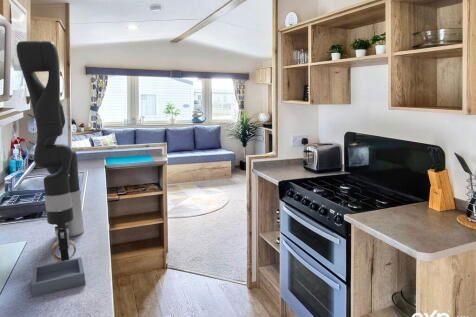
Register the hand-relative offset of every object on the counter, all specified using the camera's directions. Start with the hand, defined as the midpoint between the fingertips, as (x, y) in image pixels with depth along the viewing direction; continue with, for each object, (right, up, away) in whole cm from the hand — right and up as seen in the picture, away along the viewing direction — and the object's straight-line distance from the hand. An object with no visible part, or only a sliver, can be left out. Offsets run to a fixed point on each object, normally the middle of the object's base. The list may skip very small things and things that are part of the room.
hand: (64, 256), depth 115 cm
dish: (+5, -4, -13) cm, 14 cm away
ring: (0, -2, 0) cm, 2 cm away
